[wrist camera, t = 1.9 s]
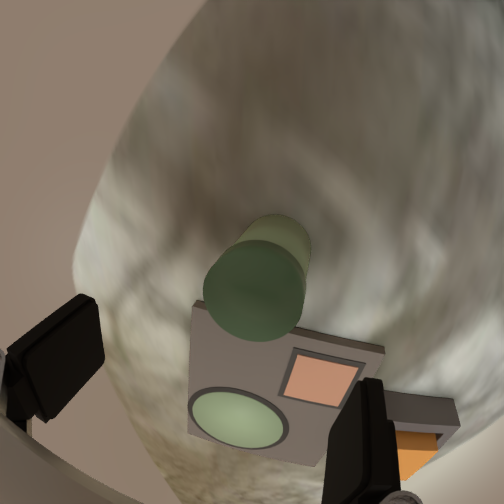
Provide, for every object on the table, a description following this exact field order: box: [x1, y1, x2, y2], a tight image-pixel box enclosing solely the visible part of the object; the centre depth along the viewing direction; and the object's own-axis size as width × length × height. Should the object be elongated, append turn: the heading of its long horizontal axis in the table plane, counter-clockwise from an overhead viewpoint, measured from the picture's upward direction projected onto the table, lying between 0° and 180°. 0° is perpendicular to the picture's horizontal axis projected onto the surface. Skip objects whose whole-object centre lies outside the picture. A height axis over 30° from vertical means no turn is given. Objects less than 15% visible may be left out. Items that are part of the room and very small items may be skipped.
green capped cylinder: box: [203, 215, 311, 342], centre depth 15 cm, size 4×4×6 cm
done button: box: [395, 430, 438, 480], centre depth 18 cm, size 5×5×2 cm
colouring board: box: [188, 300, 385, 467], centre depth 22 cm, size 16×13×1 cm
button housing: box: [384, 391, 461, 450], centre depth 20 cm, size 8×8×3 cm
